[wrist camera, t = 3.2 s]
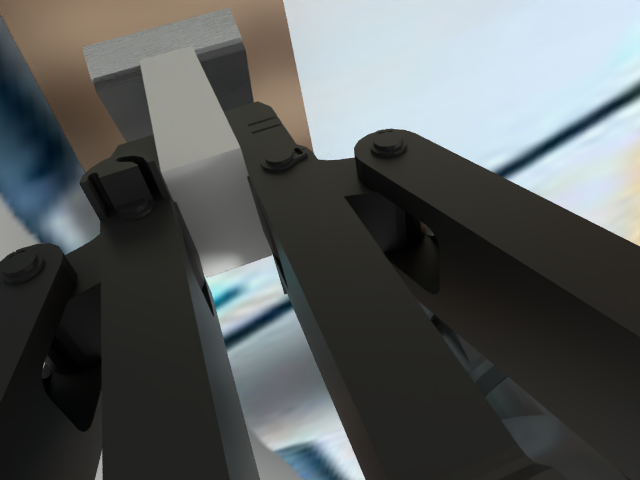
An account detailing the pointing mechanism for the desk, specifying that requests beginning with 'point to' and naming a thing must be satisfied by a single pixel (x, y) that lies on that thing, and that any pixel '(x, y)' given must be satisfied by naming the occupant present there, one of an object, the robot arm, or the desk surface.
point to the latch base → (130, 17)
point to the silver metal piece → (125, 52)
